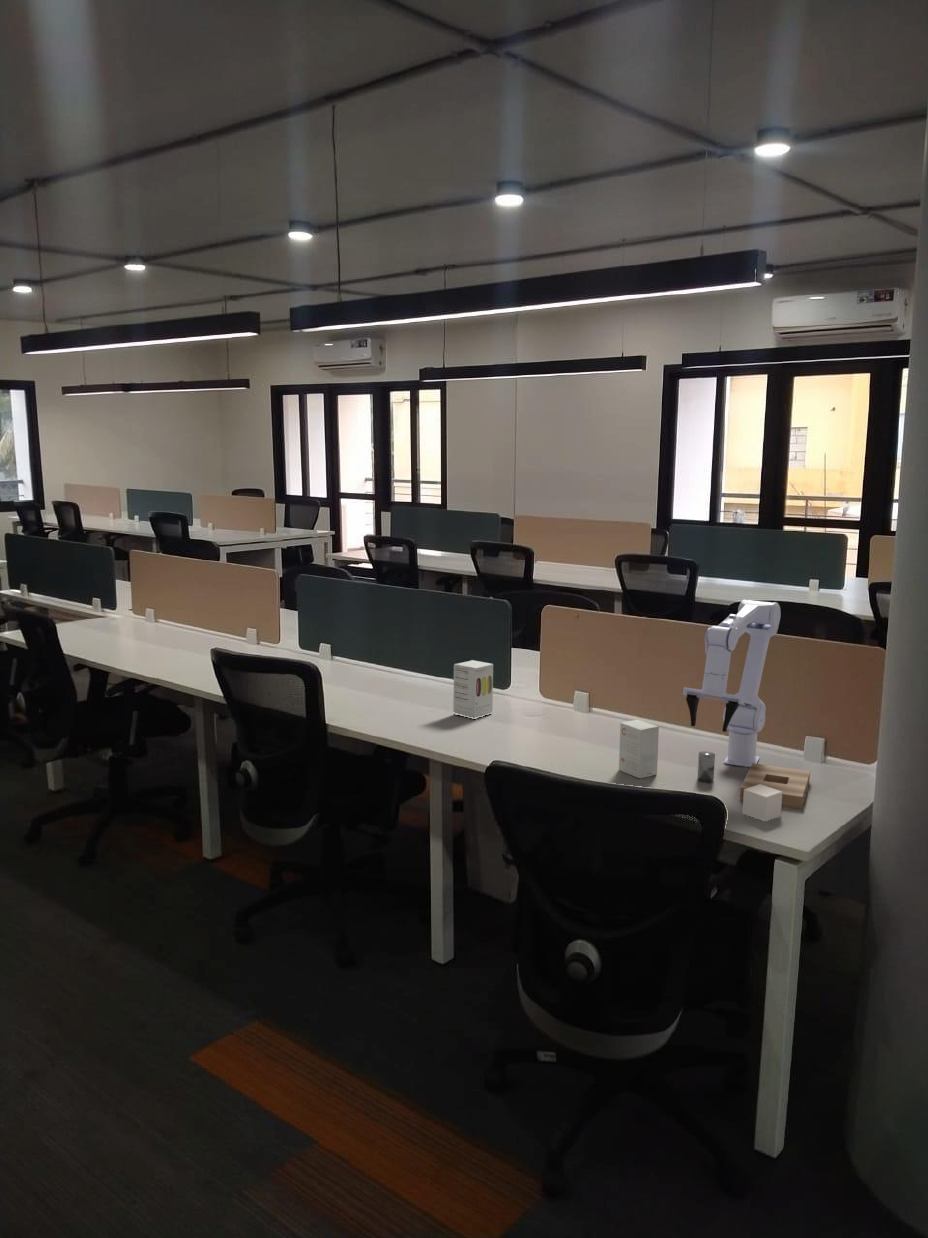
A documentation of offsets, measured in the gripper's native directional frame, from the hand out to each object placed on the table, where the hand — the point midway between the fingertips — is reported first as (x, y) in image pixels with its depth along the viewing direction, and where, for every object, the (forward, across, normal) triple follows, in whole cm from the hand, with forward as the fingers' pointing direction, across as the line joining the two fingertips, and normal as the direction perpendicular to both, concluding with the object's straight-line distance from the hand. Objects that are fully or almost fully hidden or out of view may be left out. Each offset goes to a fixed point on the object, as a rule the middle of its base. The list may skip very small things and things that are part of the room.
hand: (708, 728), depth 220 cm
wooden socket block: (+13, +17, +6) cm, 22 cm away
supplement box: (+12, -79, +36) cm, 87 cm away
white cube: (+17, +16, -11) cm, 26 cm away
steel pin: (+14, 0, +7) cm, 15 cm away
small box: (+15, -17, +5) cm, 23 cm away
